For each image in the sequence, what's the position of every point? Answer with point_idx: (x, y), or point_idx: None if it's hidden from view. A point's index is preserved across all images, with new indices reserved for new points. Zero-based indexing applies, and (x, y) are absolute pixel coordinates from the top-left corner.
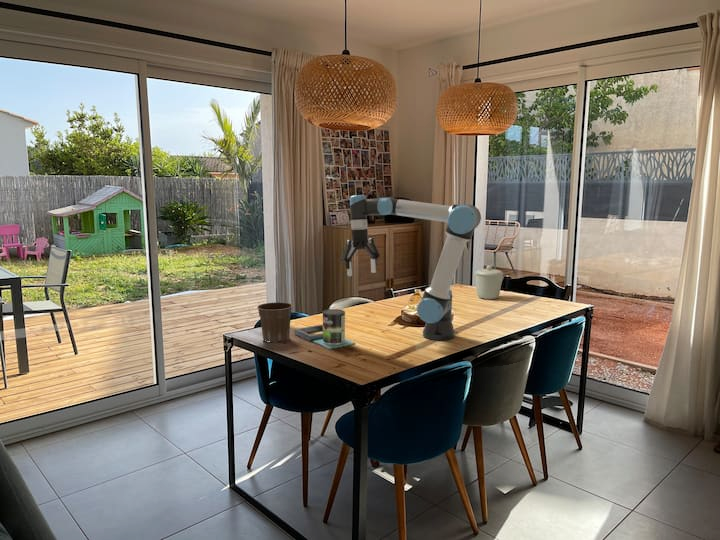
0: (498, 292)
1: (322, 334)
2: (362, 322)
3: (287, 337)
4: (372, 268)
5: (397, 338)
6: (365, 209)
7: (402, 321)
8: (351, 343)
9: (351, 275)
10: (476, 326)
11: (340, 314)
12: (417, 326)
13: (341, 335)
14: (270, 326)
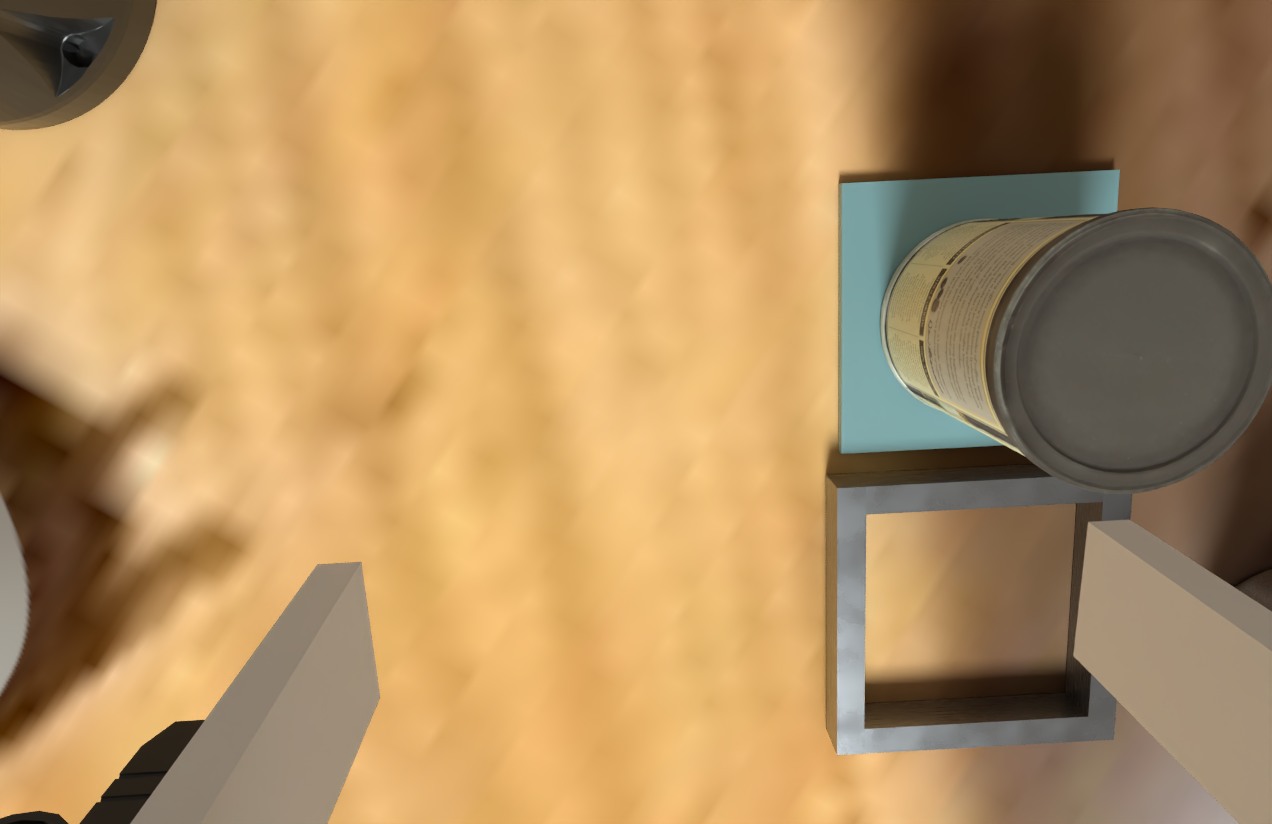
0: None
1: (1007, 478)
2: (400, 748)
3: (1257, 589)
4: (338, 709)
5: (407, 129)
6: None
7: (44, 596)
8: (880, 188)
9: (1111, 528)
10: None
11: (1136, 209)
12: (4, 374)
13: (995, 221)
14: None
